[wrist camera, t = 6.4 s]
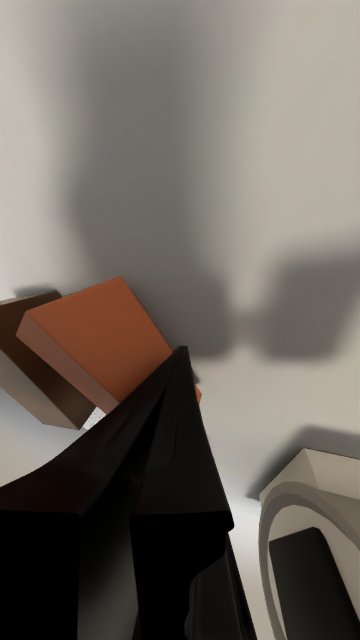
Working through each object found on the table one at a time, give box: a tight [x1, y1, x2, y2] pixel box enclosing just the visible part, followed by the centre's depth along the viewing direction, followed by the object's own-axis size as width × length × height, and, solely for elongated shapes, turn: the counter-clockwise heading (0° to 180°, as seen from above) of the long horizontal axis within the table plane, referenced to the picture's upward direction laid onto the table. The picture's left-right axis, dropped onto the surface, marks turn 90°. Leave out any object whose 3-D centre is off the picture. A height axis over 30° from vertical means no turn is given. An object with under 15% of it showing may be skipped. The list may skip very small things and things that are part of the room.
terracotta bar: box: [16, 276, 202, 415], centre depth 8 cm, size 10×4×4 cm, turn 30°
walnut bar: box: [0, 291, 97, 430], centre depth 10 cm, size 10×4×4 cm, turn 10°
